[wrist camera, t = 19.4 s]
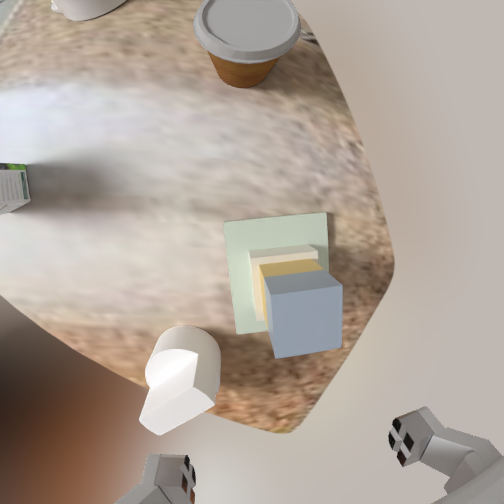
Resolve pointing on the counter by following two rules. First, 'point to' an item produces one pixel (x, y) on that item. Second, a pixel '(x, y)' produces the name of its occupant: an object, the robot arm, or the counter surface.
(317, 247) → the plate
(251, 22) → the disposable coffee cup
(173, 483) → the robot arm
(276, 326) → the slate brick
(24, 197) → the syrup box
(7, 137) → the counter surface
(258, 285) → the base brick
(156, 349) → the cylinder with rectangular tab
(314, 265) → the mustard brick
